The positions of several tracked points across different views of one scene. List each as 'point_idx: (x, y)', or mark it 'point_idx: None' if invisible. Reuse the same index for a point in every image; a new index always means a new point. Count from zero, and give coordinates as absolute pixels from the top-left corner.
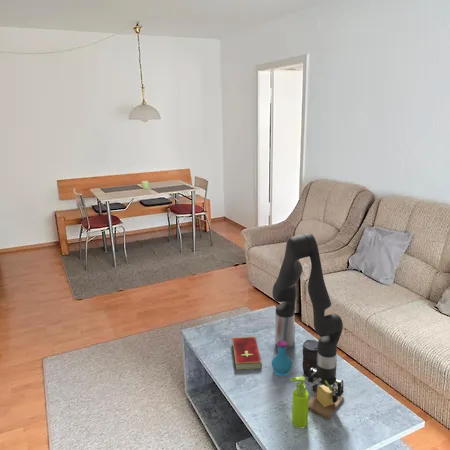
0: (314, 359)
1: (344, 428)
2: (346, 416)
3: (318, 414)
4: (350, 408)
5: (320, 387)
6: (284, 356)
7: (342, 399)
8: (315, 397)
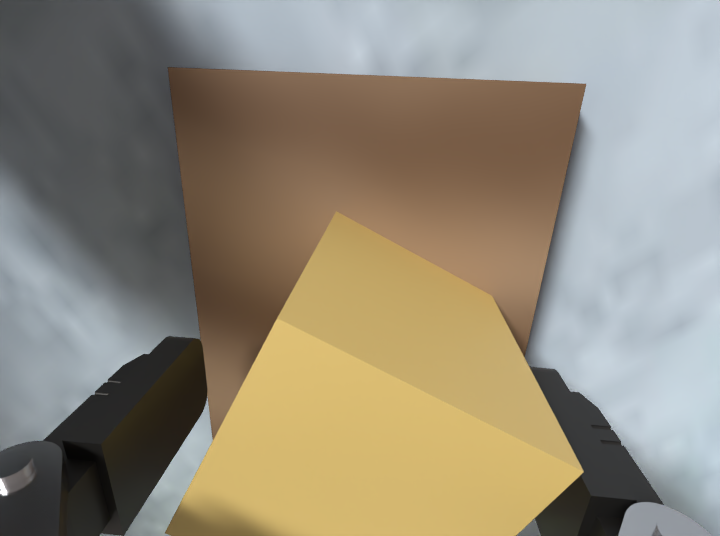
0: None
1: (669, 494)
2: (663, 354)
3: None
4: (695, 203)
5: (227, 526)
6: None
7: (568, 141)
8: (237, 335)
